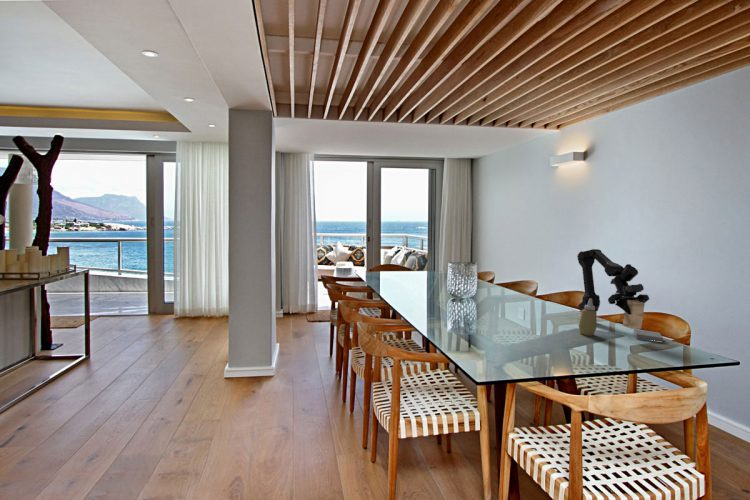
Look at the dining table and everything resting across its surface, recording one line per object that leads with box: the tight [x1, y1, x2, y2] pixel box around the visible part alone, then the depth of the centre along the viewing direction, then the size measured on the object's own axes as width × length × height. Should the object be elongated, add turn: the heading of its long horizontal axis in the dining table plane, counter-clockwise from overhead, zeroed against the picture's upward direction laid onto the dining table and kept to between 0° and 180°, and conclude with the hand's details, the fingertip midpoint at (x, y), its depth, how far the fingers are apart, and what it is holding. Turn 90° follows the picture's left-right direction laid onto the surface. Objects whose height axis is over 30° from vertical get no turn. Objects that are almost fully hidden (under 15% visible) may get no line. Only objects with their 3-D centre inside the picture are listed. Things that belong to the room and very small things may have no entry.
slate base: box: [633, 329, 664, 342], centre depth 224 cm, size 11×11×2 cm
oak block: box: [622, 300, 646, 330], centre depth 216 cm, size 6×6×12 cm
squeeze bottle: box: [578, 299, 598, 337], centre depth 223 cm, size 8×8×18 cm
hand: (635, 314), depth 214 cm, fingers closed on oak block, 5 cm apart
